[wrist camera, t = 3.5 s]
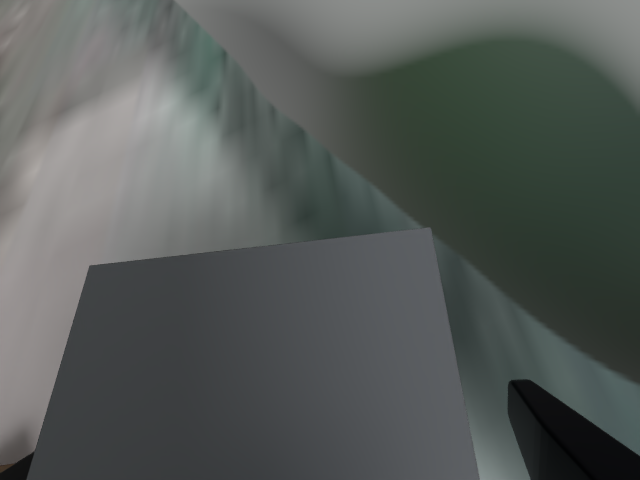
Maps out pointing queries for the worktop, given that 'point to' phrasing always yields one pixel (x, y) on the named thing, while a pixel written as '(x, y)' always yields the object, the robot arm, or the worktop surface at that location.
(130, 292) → the tall grey pillar block
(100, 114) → the worktop surface
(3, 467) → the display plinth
